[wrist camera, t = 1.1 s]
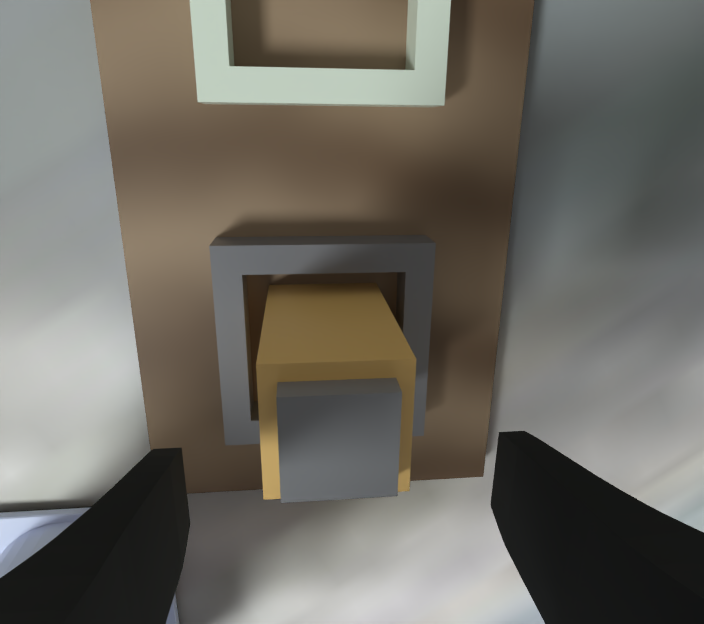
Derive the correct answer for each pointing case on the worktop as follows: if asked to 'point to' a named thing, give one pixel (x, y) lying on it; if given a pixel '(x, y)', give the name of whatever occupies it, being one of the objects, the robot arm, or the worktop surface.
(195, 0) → the pale green square frame
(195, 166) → the switch board
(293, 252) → the grey square frame
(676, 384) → the worktop surface
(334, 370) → the plug
